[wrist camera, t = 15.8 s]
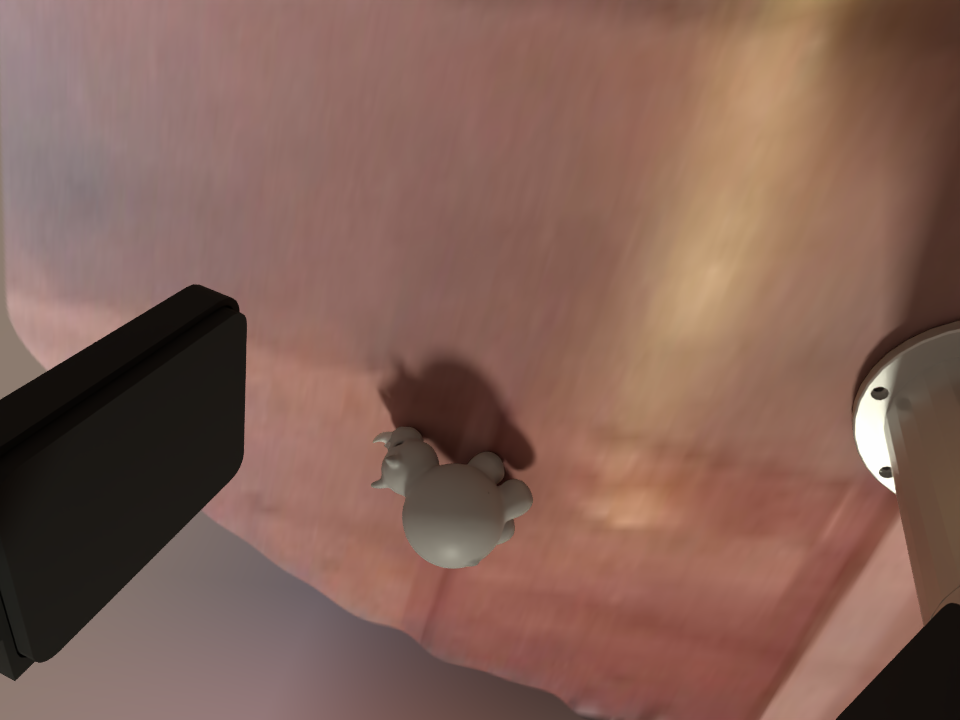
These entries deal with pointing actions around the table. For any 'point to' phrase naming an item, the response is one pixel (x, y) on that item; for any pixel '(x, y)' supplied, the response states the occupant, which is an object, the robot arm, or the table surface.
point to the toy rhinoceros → (450, 500)
